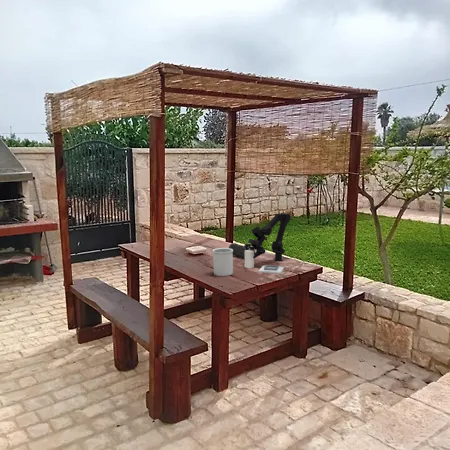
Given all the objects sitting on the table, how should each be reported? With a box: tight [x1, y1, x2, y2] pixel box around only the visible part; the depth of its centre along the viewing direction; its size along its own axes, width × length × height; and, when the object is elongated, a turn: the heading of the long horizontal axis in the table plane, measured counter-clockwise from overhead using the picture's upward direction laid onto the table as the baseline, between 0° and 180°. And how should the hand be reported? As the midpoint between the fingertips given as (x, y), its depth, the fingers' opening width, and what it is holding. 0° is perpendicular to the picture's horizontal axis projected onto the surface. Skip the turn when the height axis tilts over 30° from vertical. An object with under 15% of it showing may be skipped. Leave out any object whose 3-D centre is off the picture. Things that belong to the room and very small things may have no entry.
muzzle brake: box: [228, 242, 256, 259], centre depth 362 cm, size 10×28×10 cm, turn 32°
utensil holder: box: [212, 247, 234, 277], centre depth 311 cm, size 15×15×18 cm
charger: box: [244, 250, 255, 269], centre depth 329 cm, size 5×5×13 cm
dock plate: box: [258, 264, 285, 275], centre depth 319 cm, size 16×16×3 cm
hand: (249, 257), depth 328 cm, fingers open, 9 cm apart
